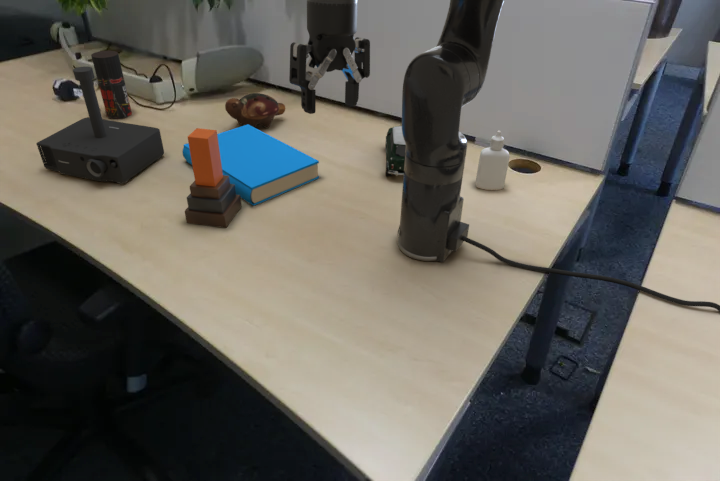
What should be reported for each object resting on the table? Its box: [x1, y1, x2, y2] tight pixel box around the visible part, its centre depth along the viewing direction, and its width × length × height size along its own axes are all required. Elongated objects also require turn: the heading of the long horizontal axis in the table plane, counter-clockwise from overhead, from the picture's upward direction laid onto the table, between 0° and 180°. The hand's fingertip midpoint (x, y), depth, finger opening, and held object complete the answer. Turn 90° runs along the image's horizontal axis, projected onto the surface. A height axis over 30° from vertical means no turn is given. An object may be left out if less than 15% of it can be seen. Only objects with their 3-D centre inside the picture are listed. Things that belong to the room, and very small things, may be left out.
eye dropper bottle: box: [475, 130, 511, 191], centre depth 108 cm, size 4×6×12 cm
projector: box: [36, 66, 165, 184], centre depth 110 cm, size 19×17×20 cm
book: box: [182, 124, 320, 207], centre depth 114 cm, size 17×4×25 cm
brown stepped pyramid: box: [184, 175, 242, 229], centre depth 98 cm, size 8×8×7 cm
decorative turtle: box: [224, 92, 286, 129], centre depth 132 cm, size 10×15×8 cm, turn 130°
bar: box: [187, 127, 223, 187], centre depth 94 cm, size 4×4×9 cm
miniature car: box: [384, 124, 406, 177], centre depth 117 cm, size 9×18×8 cm, turn 178°
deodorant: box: [90, 50, 133, 120], centre depth 134 cm, size 6×6×15 cm
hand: (330, 108), depth 88 cm, fingers open, 8 cm apart
